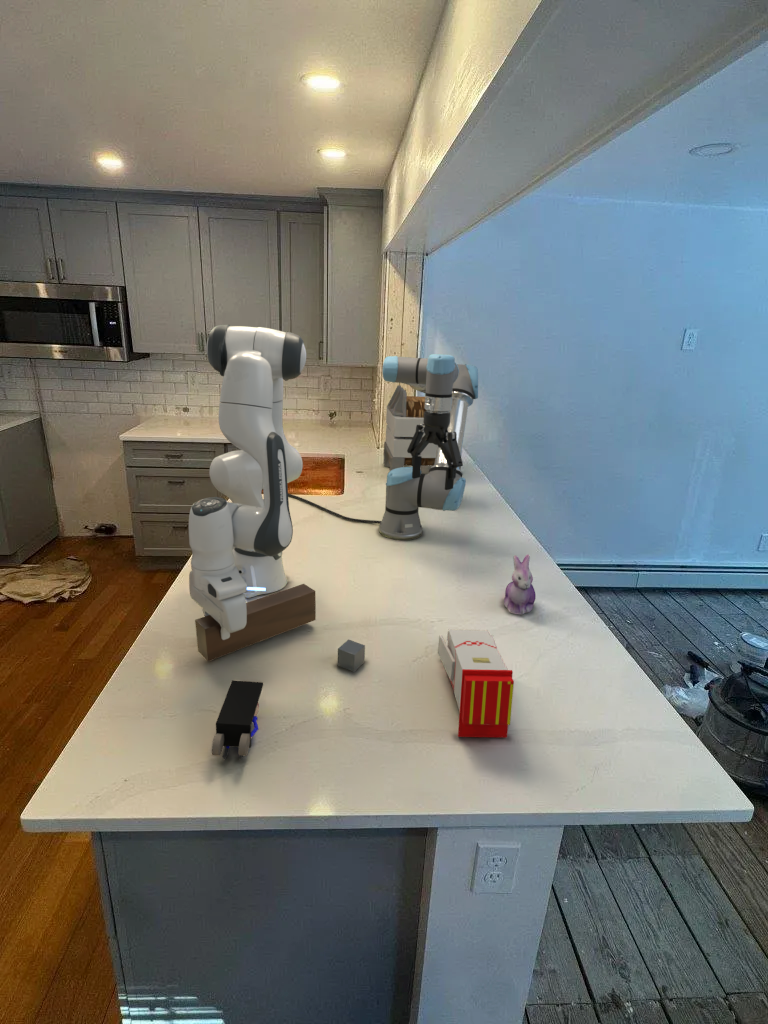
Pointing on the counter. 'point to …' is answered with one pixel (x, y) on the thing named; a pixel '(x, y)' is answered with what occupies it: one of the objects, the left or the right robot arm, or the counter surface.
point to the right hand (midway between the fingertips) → (432, 483)
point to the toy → (478, 682)
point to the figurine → (520, 588)
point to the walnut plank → (259, 621)
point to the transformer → (405, 430)
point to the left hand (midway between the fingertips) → (218, 631)
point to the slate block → (351, 655)
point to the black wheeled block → (237, 718)
